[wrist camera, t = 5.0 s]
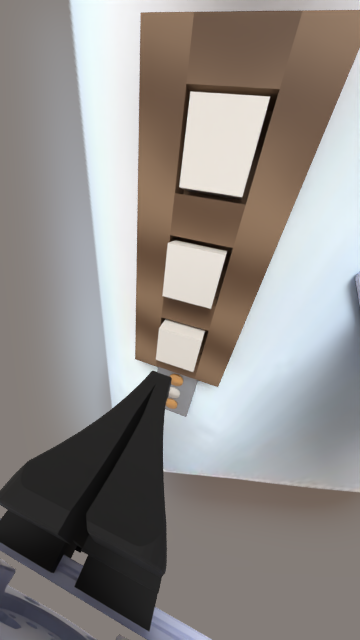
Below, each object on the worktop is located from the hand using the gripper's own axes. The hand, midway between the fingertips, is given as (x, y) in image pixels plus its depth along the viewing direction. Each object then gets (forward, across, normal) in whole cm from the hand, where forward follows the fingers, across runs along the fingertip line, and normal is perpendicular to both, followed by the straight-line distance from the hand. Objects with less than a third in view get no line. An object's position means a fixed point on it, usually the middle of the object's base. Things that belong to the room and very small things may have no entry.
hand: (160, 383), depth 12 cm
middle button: (+5, 0, -6) cm, 8 cm away
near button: (+6, 0, -13) cm, 14 cm away
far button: (+5, 0, 0) cm, 5 cm away
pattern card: (+7, 0, +10) cm, 13 cm away
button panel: (+7, 0, -6) cm, 10 cm away
